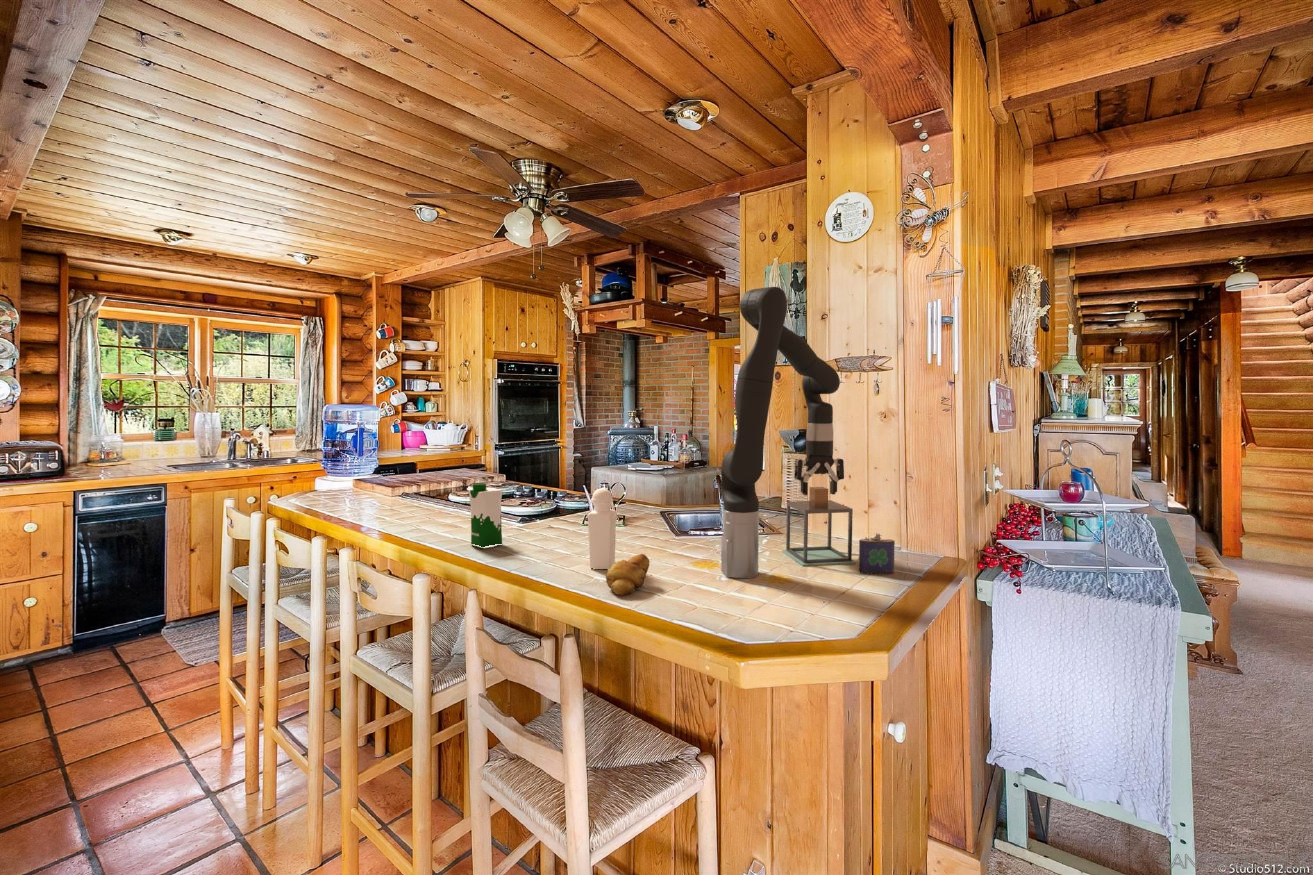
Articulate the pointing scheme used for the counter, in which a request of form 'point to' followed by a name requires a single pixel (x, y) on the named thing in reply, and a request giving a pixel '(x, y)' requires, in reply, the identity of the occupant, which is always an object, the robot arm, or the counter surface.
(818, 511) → the metal frame side table
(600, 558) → the beige bottle
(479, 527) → the milk carton
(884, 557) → the flask
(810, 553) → the mat
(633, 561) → the bread roll
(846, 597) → the counter surface
